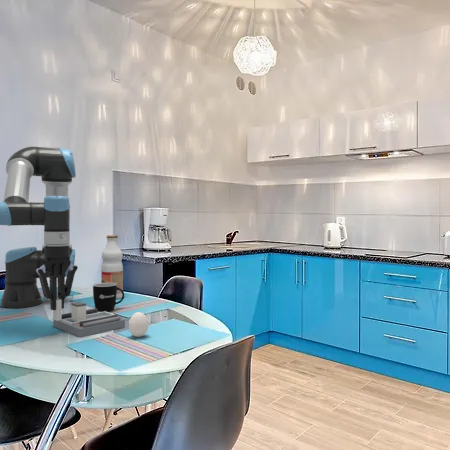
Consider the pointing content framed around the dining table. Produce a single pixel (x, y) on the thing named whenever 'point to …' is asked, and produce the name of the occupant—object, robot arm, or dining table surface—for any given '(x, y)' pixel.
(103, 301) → the mug
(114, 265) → the fruit juice
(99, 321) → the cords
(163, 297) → the dining table surface
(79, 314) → the light grey boxy piece
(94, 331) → the grey compartment tray
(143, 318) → the egg
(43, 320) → the dining table surface
